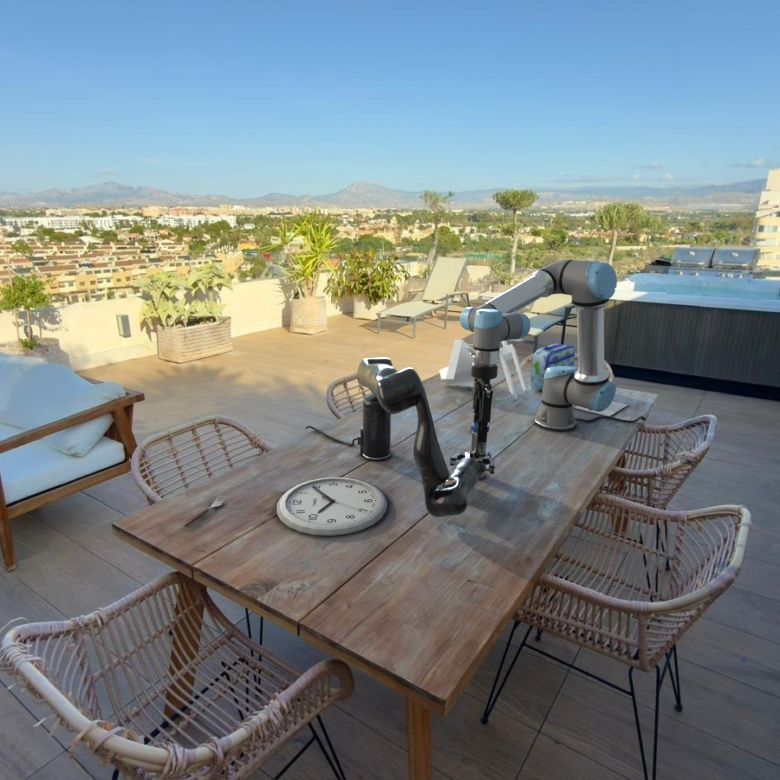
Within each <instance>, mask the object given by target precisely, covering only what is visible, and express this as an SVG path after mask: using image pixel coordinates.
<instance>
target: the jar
mask: <svg viewBox="0 0 780 780" xmlns="http://www.w3.org/2000/svg"><path fill="white" fill-rule="evenodd" d="M487 443H488V439H487V440H486V442H477V433H476V432H473V431H472V430H471V447H470V450H471V458H473V459H478V458H480V457H484V456H485V455H486V453H487ZM484 477H485V472H484V473H482V474H481V476H480V478H479V479H478V480H481V479H484Z"/></svg>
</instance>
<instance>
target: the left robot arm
mask: <svg viewBox="0 0 780 780" xmlns="http://www.w3.org/2000/svg"><path fill="white" fill-rule="evenodd" d="M357 377H358V380H359V383H360V385H361V386H362V387H364V388H367V389H368V390H369V391H370V392H371V393H369V394H367V395H365V396H364V397H363V398H362V427H361V428H360V429H359V432H360V433H359V435H358V436H357V437H354V438H353V439H352V441H351V443H346V442H343V441H341V440H339V439H337V438H335V437H333V436H331V435H328V434H327V433H325V432H323V431H322V430H319V429H317V428H316V427H314V426H311V425H307V426H305V427H304V429H305V430H308V429H312V430H313V431H315V432H318V433H320V434H321V435H323V436H324V437H327V438H328V439H330V440H332V441H334V442H336V443H339V444H344V445H347V446H351V447H352V446H354V445H355V441H357V446H359V455H360V456H361V457H363V458H365V459H367V460H370V461H384V460H387V459H388V458H390V457H391V456H392V455H391V454H392V453H391V449H392V444H391V439H392V438H391V433H392V432H391V431H392V415H396V414H399V413H402V412H404V411H406V410H409V409H412V408H413V407H415V409H416V413H417V425H416V426H417V427H416V433H415V437H414V443H413V459H414V462H415V466H416V467H417V470H418V473H419V475H420V477H421V480H422V486H423V493H424V504H425V509H426V511H427V512H428V514H429V515H430V516H432V517H434V518H444V517H452V516H459V515H462V514H464V512H466V510H467V509H468V495H469V493H470V492H471V490H472V489H473V488H474V487H475V486H476V484H478V481H479V480H480V479H479V478H480V476H481V474H482V473H484V474H485V473H486V472H489V473H490V474H491V475H494V474H495V468H496V463H495V458H494V457H492V453H491V451H486V455H485V456H484V457H480V458H478V459H473V458H471V449H468V450H467V451H466V452H463V451H458V452H457V453H455V454H453V455H452V456H450V457H449V466H450V467H453V468H451V470H449V467H448V465H447V462H446V460H445V457H444V454H443V452H442V449H441V446H440V443H439V440H438V437H437V432H436V427H435V423H434V419H433V415H432V411H431V408H430V404H429V400H428V396H427V393H426V389H425V386H424V384H423V381H422V379H421V377H420V375H419V373H418V372H417V371H416V370H415V369H414V368H413V367H405V368H402V369H401V370H397V368H395V367H394V366H393V362H392V360H391V358H389V357H367V358H363V359H361V360H360V362H359V364H358V366H357ZM440 485H442V488H438V487H439V486H440Z"/></svg>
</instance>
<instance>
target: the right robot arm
mask: <svg viewBox="0 0 780 780" xmlns="http://www.w3.org/2000/svg"><path fill="white" fill-rule="evenodd" d="M617 277H618V276H617V272H616V270H615V268H614V267H613V266H612V265H611V264H610V263H608V262H604V261H599V260H582V259H581V260H580V259H577V260H576V259H561V260H559V261H555V262H553V263H550V264H548V265H545V266H543V267H541V268H540V269H538V270H535V271H534V272H533V273H532V274H531V275H530V278H528V279H526V280H524V281H522V282H520V283H519V284H517V285H515V286H513V287H511V288H510V289H508V290H506V291H505V292H503V293H501V294H499V295H498V296H496V297H494V298H492V299H490V300H489V301H487V302H484V303H483V304H482V305H479V306H477V307H476V306H467V307H465V308H463V310H462V311H461V313H460V316H459V323H460V326H461V328H463V329H464V330H465V331H469V332H471V333H473V340H472V341H473V342H472V347H473V352H471V355H473V356H472V361H473V364H472V368H471V375H472V376H473V377H474V378H475V379H474V382H473V384H474V387H473V399H472V410H473V422H478V431H477V442H486V440H487V441H488V432H487V428H488V424H489V423H491V416H492V403H493V395H494V390H493V389H492V388H493V387H492V383H491V380H494V379H496V378H497V377H498V371H499V367H498V365H497V363H499V349H500V348H501V342H502V341H506V340H507V341H513V340H519V339H522V338H524V337H526V336H528V334H529V333H530V331H531V324H532V323H531V319H530V318H529V317H528V315H527V314H525V313H524V312H523V313H522V312H519V311H521V310H522V309H524V308H527V306H530V305H531V304H533V303H534V302H536V301H537V300H539V299H541V298H549V297H550V296H552V295H566V296H571V304H572V306H573V307H575V308H576V328H577V329H576V331H577V332H576V335H577V336H576V337H577V367H576V366H573V367H571V366H554V367H549V368H547V369H546V371H545V375H544V378H543V379H544V382H543V390H541V391H542V394H541V402H540V405H539V407H538V410H537V411H536V413H535V416H534V424H535V425H536V426H537V427H539V428H542V429H544V430H549V431H556V432H567V431H572V430H574V429H575V428H576V421H577V422H584V423H592V422H595V421H597V420H599V419H609V420H615V421H619V422H622V423H629V424H630V423H636V422H638V421H640V420H641V419H642V420H644V421H645V420H646V417H644V416H643V415H641V416H639V417H637V418H636V419H633V420H628V419H622V418H619V417H614V416H604V415H600V416H599V415H598V416H595V417H593V418H592V419H585V418H584V419H583V418H577V417H576V416H575V413H574V407H573V405H574V406H580V407H583V408H587V409H589V410H593V411H597V412H601V411H604V410H605V409H607V408H608V407H609V405H610V404H611V402H612V401H614V398H615V396H616V392H617V386H616V385H617V384H615V383H614V382H613V381H612V380H610V375H609V371H607V369H606V368H605V306H606V305H607V304H608V303H609V301H610V299H611V298H612V297H613V296H614V294H615V292H616V288H617V287H618V278H617Z"/></svg>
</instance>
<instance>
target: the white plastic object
mask: <svg viewBox="0 0 780 780" xmlns="http://www.w3.org/2000/svg"><path fill="white" fill-rule="evenodd" d="M501 345H502V347H499V363H497V365H498V368H499V367H500V366H502V370H503V373H504V376H505V380H506V383H507V386H508V390H509V393H510V394H511V395H512V397H513V398H514V399H515V400H517V392H516V391H517V390H516V388H515V385H514V381H513V378H512V375H511V371H510V369H509V365H508V361H510V360H513V363H514V366H515V369H516V372H517V376H518V380H519V382H520V385H521V389H522V391H523V393H524V395H525V396H526V397H528V396H531V395H530V390H529V388H528V387H529V386H528V384H527V381H526V378H525V375H524V371H523V369H522V368H523V367H522V366H521V362H520V359H519V355H518V352H517V349H516V347H515V346H514V345H513V343H511V344H508V340H506V341H501ZM471 352H473V346H469V345H468V343H466V342H465V340H464V339H463V338H460V339H458V338H454V340H453V344H452V349H451V353H450V357H449V362H448V366H446V367H444V368H442V369H440V370H439V371H438V372H439V376H440V381H442V383H443V384H444V385H445V386H449V385H458V384H467V383H468V384H469V383H474V379H475V378H474V377H473V376H472V375H471V368H472V364H473V361H472V356H473V355H471Z"/></svg>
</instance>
